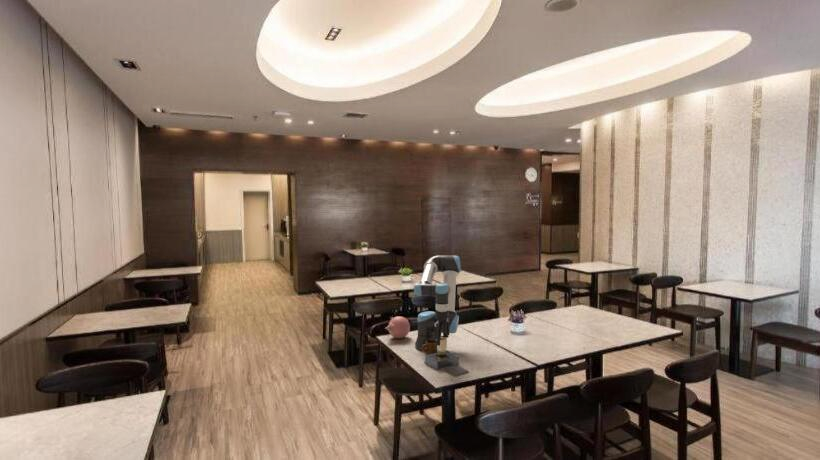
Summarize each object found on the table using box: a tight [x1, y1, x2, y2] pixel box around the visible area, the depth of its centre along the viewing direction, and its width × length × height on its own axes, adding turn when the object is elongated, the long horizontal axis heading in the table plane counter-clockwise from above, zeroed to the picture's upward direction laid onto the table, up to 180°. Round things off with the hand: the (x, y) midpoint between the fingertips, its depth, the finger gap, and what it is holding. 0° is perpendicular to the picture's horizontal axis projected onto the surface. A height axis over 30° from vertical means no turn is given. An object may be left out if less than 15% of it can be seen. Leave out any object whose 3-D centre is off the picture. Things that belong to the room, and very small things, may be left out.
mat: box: [443, 364, 470, 377], centre depth 226 cm, size 10×10×1 cm
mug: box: [421, 340, 438, 356], centre depth 248 cm, size 12×8×9 cm, turn 133°
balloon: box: [384, 315, 411, 340], centre depth 283 cm, size 15×20×15 cm
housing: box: [424, 349, 460, 371], centre depth 237 cm, size 12×16×5 cm
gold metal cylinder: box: [437, 335, 447, 358], centre depth 237 cm, size 4×4×14 cm
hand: (441, 349), depth 237 cm, fingers closed on gold metal cylinder, 4 cm apart
